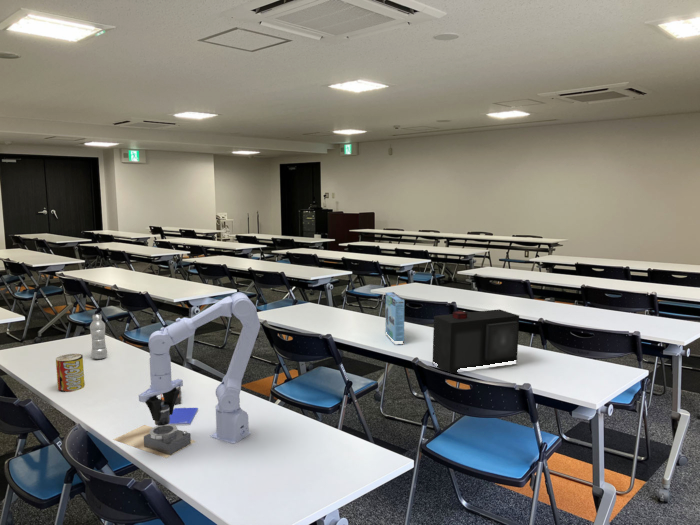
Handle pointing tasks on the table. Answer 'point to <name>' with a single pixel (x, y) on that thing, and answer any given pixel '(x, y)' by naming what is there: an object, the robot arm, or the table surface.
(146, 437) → the block with segmented ring
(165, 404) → the lens
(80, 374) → the tin can
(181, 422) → the hard drive
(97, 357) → the plastic bottle
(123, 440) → the cork mat
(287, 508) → the table surface
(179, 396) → the electronic device
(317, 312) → the table surface
